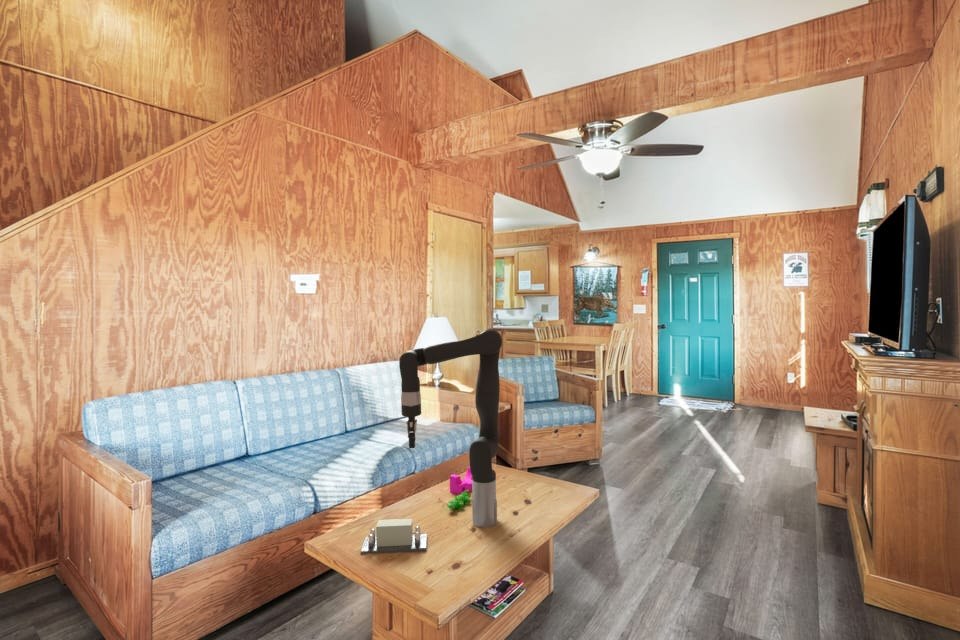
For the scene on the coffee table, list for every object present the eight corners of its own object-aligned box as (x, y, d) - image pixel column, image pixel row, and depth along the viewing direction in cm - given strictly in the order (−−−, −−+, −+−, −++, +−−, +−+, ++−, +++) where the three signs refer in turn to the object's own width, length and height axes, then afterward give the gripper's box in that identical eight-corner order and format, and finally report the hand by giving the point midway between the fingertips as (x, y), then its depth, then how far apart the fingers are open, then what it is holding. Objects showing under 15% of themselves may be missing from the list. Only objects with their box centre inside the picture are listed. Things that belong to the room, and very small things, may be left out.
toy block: (460, 495, 212) (460, 478, 211) (449, 492, 215) (449, 475, 215) (481, 485, 224) (480, 469, 223) (470, 482, 227) (470, 466, 227)
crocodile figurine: (441, 512, 195) (441, 501, 195) (462, 496, 211) (462, 486, 211) (456, 515, 192) (455, 504, 192) (475, 498, 208) (475, 488, 208)
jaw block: (378, 539, 170) (378, 520, 170) (412, 537, 171) (412, 518, 171) (376, 546, 165) (376, 526, 165) (411, 545, 166) (411, 525, 166)
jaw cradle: (426, 537, 174) (426, 522, 174) (426, 551, 164) (425, 536, 164) (365, 540, 172) (364, 526, 172) (360, 554, 162) (360, 539, 162)
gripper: (402, 399, 191) (403, 440, 191) (400, 407, 176) (401, 450, 177) (421, 398, 191) (422, 439, 192) (420, 406, 177) (422, 449, 178)
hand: (412, 444), depth 184 cm, fingers open, 8 cm apart
